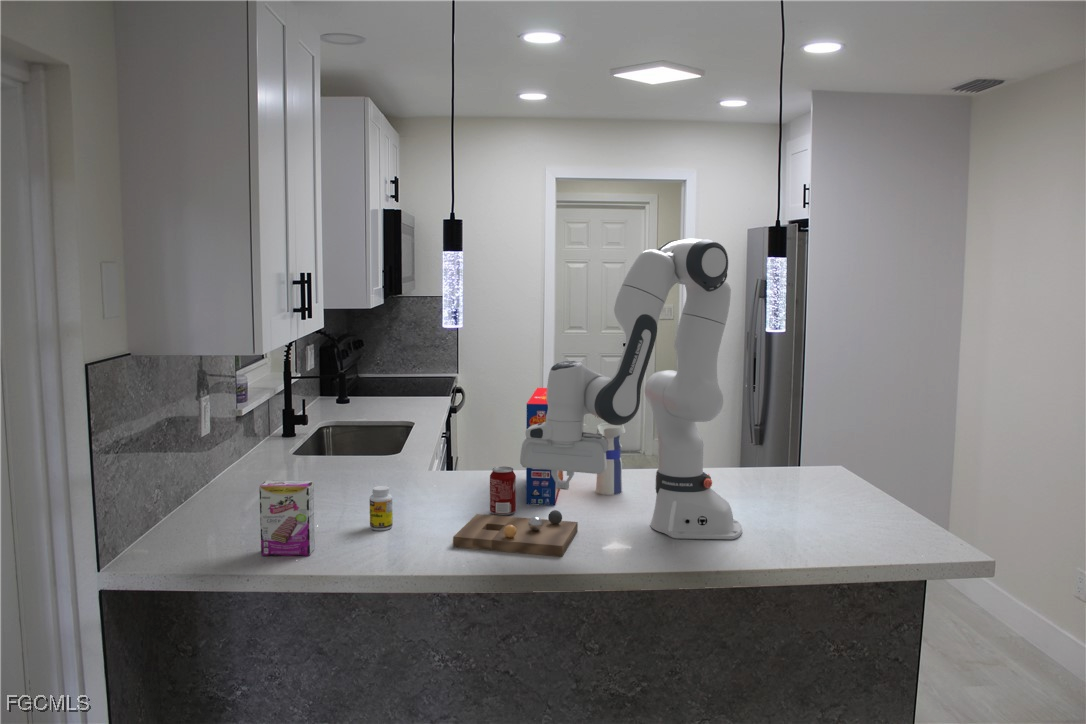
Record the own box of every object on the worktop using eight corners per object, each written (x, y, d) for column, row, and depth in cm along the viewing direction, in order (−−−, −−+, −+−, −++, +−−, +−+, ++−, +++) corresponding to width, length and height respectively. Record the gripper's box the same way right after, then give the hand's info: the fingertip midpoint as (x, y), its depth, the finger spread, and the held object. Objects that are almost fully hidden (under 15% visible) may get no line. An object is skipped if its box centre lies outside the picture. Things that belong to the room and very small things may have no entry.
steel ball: (544, 528, 205) (544, 515, 205) (540, 533, 202) (540, 519, 201) (530, 527, 206) (530, 514, 205) (526, 532, 202) (526, 518, 202)
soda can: (512, 518, 222) (512, 472, 220) (487, 516, 223) (486, 471, 221) (518, 510, 228) (518, 466, 227) (493, 508, 229) (493, 465, 228)
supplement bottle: (365, 529, 212) (364, 488, 211) (380, 523, 217) (379, 483, 215) (382, 532, 209) (382, 492, 208) (397, 526, 214) (396, 486, 213)
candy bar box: (260, 557, 192) (257, 485, 190) (266, 549, 197) (264, 480, 195) (310, 556, 192) (308, 485, 190) (315, 549, 197) (313, 479, 195)
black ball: (563, 522, 210) (563, 509, 210) (560, 526, 207) (560, 513, 206) (549, 521, 211) (550, 508, 210) (546, 525, 207) (546, 512, 207)
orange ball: (518, 535, 200) (518, 523, 199) (514, 540, 197) (514, 527, 196) (505, 534, 200) (505, 522, 200) (502, 539, 198) (502, 526, 197)
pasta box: (555, 505, 233) (556, 404, 230) (526, 504, 234) (526, 403, 230) (562, 478, 261) (563, 388, 257) (536, 478, 261) (537, 387, 258)
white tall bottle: (609, 497, 241) (610, 409, 238) (588, 490, 248) (589, 405, 245) (630, 492, 246) (631, 406, 243) (609, 485, 253) (610, 402, 250)
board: (577, 531, 211) (577, 521, 210) (562, 556, 193) (562, 545, 193) (476, 523, 217) (476, 514, 216) (453, 547, 199) (453, 536, 199)
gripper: (610, 431, 200) (608, 489, 201) (525, 425, 204) (524, 481, 206) (606, 436, 194) (603, 496, 195) (519, 430, 198) (517, 488, 200)
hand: (562, 488), depth 201 cm, fingers closed
